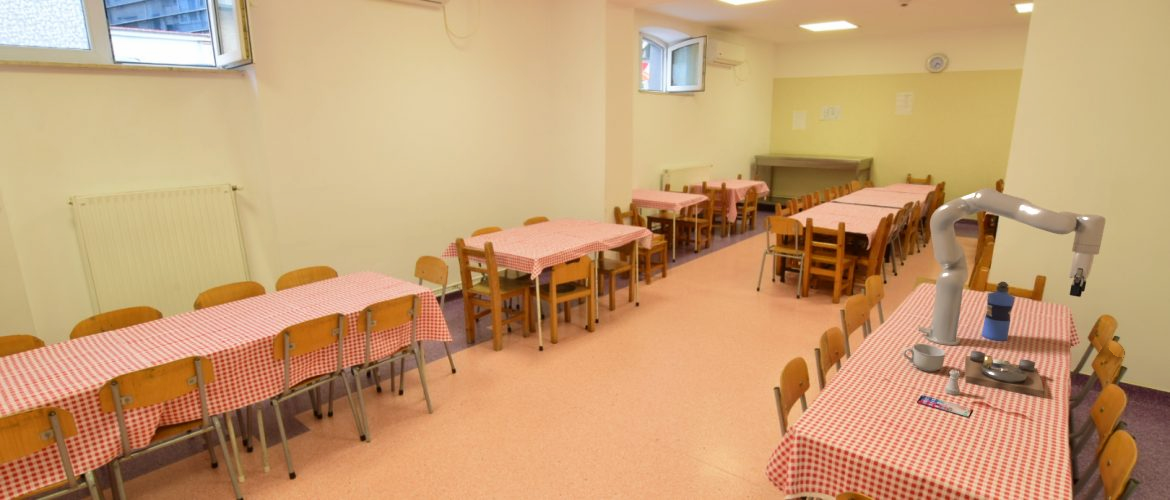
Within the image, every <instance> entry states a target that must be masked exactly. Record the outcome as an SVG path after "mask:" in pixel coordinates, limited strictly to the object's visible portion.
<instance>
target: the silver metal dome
mask: <svg viewBox="0 0 1170 500" xmlns="http://www.w3.org/2000/svg"><path fill="white" fill-rule="evenodd" d="M993 358H994V357H993V356H991V355H985V357H984V363H983V365H982V369H981V372H982V374H984V375H985V376H987V377H989V378H991V379H994V380H997V381H1001V382H1006V383H1015V384H1019V383H1024V382H1025V381H1026V377H1027V374H1026V373H1025V372H1024V371H1022V370H1021V369H1018V368H1016V367H1013V366H1009V365H1005V364H999V363H992V360H994V359H993Z"/></svg>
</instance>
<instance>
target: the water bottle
mask: <svg viewBox="0 0 1170 500" xmlns="http://www.w3.org/2000/svg"><path fill="white" fill-rule="evenodd" d="M995 288H996V289H995V290H996V291H993V292H988V293H987V297H986V303H987V311H986V313H985V315H984V321H983V326H982V327H983V328H982V332H981V333H982V334H981V336H982V337H983V338H984V339H987V340H989V341H995V342H1007V341H1008V337H1009V332H1010V325H1011V313H1012V310H1013V306H1014V305H1015V300H1016V299H1015V296H1014V295H1012V294H1010V292H1009V289H1010V288H1009V284H1008V283H1007V282H1006V281H1000V282H998V283H997V286H996V287H995ZM1008 292H1009V293H1008Z"/></svg>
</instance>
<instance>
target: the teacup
mask: <svg viewBox="0 0 1170 500" xmlns="http://www.w3.org/2000/svg"><path fill="white" fill-rule="evenodd" d="M907 352H910V353H911V357H910V356H908V355H907ZM902 355H903V356H904V358H905V359H907V360H908V361H909V362H910V363H911V364H913V366H915V367H916V368H917V369H918V370H921V371H923V372H930V373H931V372H933V373H934V372H937V371H938V370H940V369H942V368H943V365H944V361H945V356H946V351H945V350H944V349H943V348H941V347H939V346H937V345H932V344H928V343H915V344H913V345H912V348H911V347H905V348H904V349H903V350H902Z"/></svg>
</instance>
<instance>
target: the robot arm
mask: <svg viewBox="0 0 1170 500" xmlns="http://www.w3.org/2000/svg"><path fill="white" fill-rule="evenodd" d="M980 212H987V213H990V214H993V215H997V216H1000V217H1002V218H1007V219H1010V220H1013V221H1015V222H1019V223H1021V224H1025V225H1027V226H1030V227H1033V228H1035V229H1039V230H1042V231H1045V232H1049V233H1053V234H1055V235H1061V236H1062V235H1068V234H1070V233H1072V232H1075V233H1074V239H1073V244H1072V249H1071V252H1073V253H1074V255H1073V258H1072V263H1071V267H1070V272H1069V275H1068V277H1069V279H1073V280H1072V283H1071V285H1070V291H1069V295H1070V296H1072V297H1078V298H1081V297H1082V292H1085V290H1086V287H1087V286H1086V285H1087V280H1088V278H1089V276H1090V274H1091V273H1090V272H1091V270H1092V267H1093V263H1094V262H1093V261H1094V257H1095V255H1096V256H1097V255H1099V254H1100V250H1101V245H1102V241H1103V236H1104V235H1103V234H1104V231H1105V225H1106V222H1107V221H1106V217H1104V216H1102V215H1098V214H1081V213H1077V212H1076V213H1075V212H1070V211H1059V212H1057V211H1053V210H1051V209H1050V210H1049V209H1046V208H1043V207H1041V206H1038V205H1036V204H1034V203H1032V202H1030V201H1029V200H1028V199H1025V198H1022V197H1018V196H1013V195H1011V194H1007V193H1003V192H1000V191H998V190H997V189H995V188H992V187H984V188H981V189H979V190H976V191H974V192H971V193H968V194H966V195H963V196H961V197H957V198H954V199H952V200H950V201H947V202H945V203H944V204H942V205H940V206H939V207H938V208H937V209H935V211H934V212H933V213H932V215H931V217H930V220H929V229H930V235H931V242H932V247H933V248H932V249H933V255H934V260H935V261H936V263H938V264H939V265H940V266H941V267H940V268H941V272H939V274H938V275H937V277H936V281H935V282H936V283H935V296H934V304H933V310H932V311H933V312H932V319H931V325H930V326H929V327H928V326H927V327H923V326H918V329H917V330H918V332H921V333H922V334H925V338H926V339H927V340H928V341H930V342H932V343H935V344H939V345H944V346H945V345H947V346H956V345H959V344H960V343H961V339H960V338H959V337H957V336H958V329H959V322H960V314H961V306H962V302H963V301H962V300H963V291H964V286H965V284H966V283H967V281H968V279H969V269H968V263H967V259H966V253H965V249H964V247H963V245H962V244H961V243H960V242H958V241H957V239H956V238H957V237H956V232H955V227H954V224H955V222H958V221H960V220H962V219H964V218H966V217H969V216H972V215H975V214H978V213H980Z"/></svg>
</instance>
